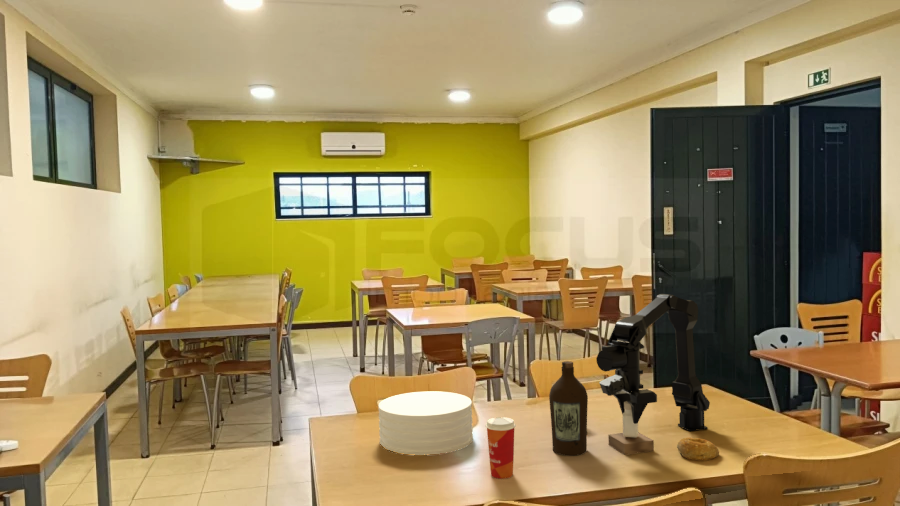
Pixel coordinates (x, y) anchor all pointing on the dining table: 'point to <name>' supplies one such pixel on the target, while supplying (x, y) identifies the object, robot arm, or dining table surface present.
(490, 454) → the paper cup
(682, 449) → the bagel
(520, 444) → the dining table surface
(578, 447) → the olive oil
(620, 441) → the walnut block
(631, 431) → the pepper shaker
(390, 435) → the plate stack
